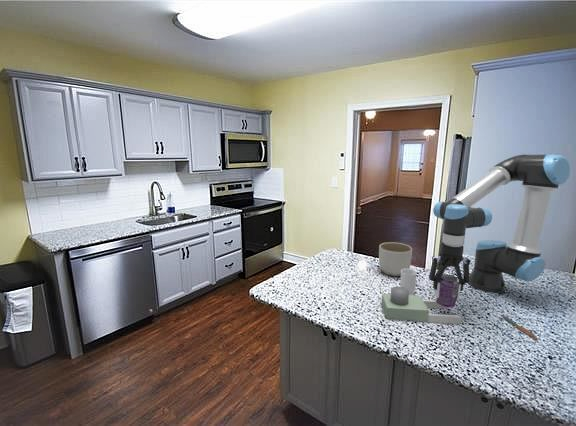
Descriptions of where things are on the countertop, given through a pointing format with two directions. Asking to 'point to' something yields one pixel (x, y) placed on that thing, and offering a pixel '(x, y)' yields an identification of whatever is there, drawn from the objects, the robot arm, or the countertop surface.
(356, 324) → the countertop surface
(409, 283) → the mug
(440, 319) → the stepped platform base
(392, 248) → the planter
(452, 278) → the beverage can
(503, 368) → the countertop surface
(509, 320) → the knife
